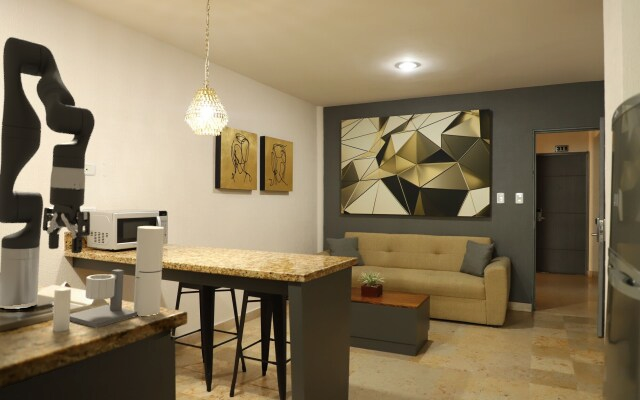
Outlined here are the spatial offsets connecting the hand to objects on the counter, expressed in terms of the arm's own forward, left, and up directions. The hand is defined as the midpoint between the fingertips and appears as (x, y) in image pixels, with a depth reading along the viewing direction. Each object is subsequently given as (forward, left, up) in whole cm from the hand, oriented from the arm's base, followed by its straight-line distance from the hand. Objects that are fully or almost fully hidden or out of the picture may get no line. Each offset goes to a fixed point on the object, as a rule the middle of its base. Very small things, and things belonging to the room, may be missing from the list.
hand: (64, 250), depth 112 cm
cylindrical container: (+6, +22, -20) cm, 30 cm away
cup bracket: (0, +12, -20) cm, 23 cm away
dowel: (0, 0, -20) cm, 20 cm away
